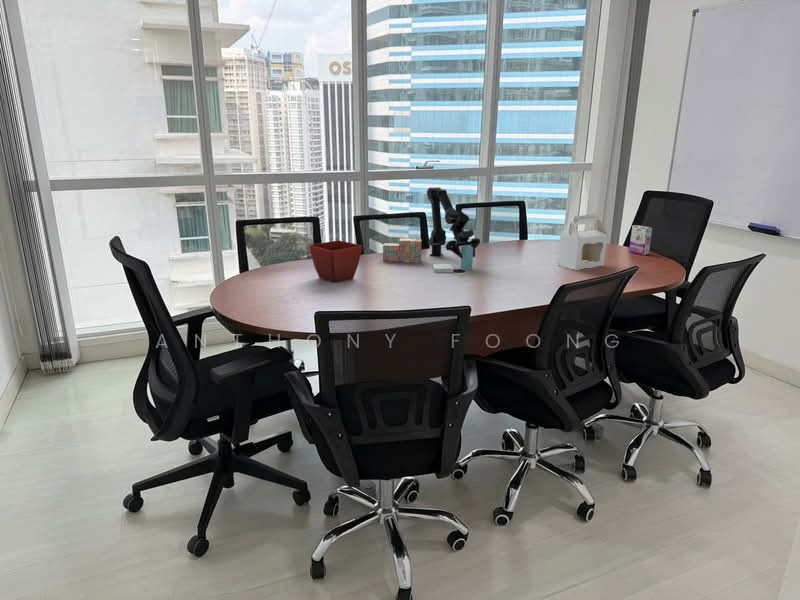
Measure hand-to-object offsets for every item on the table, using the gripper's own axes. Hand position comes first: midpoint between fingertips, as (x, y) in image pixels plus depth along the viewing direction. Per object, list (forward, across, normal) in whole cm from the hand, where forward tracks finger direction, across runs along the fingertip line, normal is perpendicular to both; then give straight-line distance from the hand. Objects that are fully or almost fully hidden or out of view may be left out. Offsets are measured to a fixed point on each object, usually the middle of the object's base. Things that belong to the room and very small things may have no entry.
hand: (468, 257), depth 303 cm
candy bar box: (+9, +116, +1) cm, 116 cm away
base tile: (+2, -13, +8) cm, 15 cm away
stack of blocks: (-17, -24, +27) cm, 40 cm away
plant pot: (-2, -70, +12) cm, 71 cm away
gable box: (+17, +62, -7) cm, 64 cm away
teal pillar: (+4, 0, +6) cm, 7 cm away
